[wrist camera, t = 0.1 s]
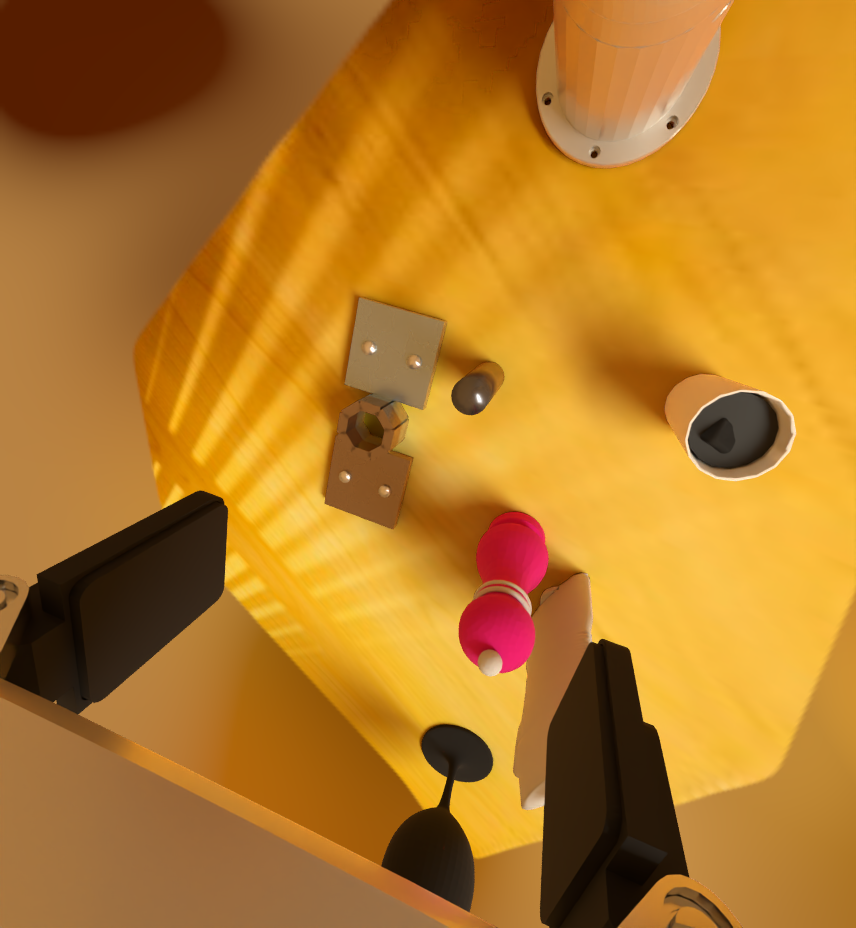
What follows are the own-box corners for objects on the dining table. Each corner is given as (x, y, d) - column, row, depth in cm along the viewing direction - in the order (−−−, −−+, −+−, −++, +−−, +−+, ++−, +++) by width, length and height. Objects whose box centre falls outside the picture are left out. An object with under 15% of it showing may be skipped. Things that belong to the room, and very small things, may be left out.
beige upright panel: (544, 639, 53) (532, 841, 33) (516, 618, 53) (487, 808, 34) (605, 582, 49) (633, 777, 29) (574, 560, 49) (580, 739, 29)
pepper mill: (475, 550, 52) (428, 685, 34) (495, 497, 49) (454, 613, 31) (536, 574, 51) (520, 726, 33) (559, 521, 48) (556, 656, 30)
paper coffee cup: (698, 455, 42) (734, 498, 33) (642, 410, 42) (663, 441, 33) (761, 400, 39) (820, 431, 30) (701, 352, 39) (742, 369, 30)
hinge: (364, 297, 46) (343, 297, 41) (447, 321, 44) (435, 323, 40) (329, 499, 55) (309, 515, 51) (396, 524, 54) (382, 543, 50)
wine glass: (469, 790, 66) (433, 977, 48) (409, 750, 66) (351, 919, 48) (507, 755, 61) (483, 946, 43) (443, 712, 62) (392, 882, 44)
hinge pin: (479, 357, 44) (456, 373, 35) (508, 366, 44) (493, 384, 35) (470, 386, 46) (447, 408, 37) (498, 395, 45) (482, 419, 36)
